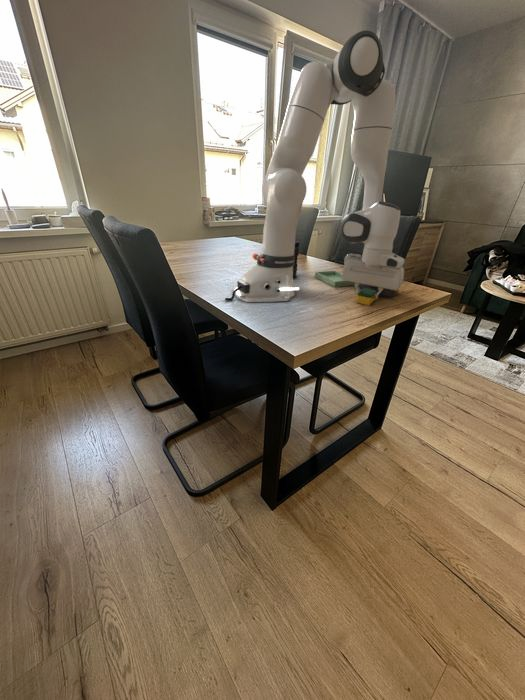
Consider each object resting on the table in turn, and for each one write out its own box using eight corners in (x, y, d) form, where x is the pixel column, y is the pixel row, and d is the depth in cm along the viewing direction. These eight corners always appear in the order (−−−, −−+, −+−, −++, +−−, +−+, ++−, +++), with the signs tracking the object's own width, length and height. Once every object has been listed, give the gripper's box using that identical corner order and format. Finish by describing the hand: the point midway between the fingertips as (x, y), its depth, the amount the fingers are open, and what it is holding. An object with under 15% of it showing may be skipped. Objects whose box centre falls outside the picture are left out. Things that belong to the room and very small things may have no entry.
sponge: (369, 305, 98) (371, 295, 96) (356, 302, 100) (358, 292, 98) (374, 300, 103) (376, 290, 101) (361, 297, 105) (364, 287, 103)
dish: (334, 287, 115) (335, 281, 113) (314, 276, 127) (315, 271, 125) (355, 284, 118) (356, 279, 117) (334, 275, 130) (335, 270, 129)
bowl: (374, 300, 103) (378, 283, 100) (347, 287, 115) (350, 272, 112) (406, 296, 108) (411, 280, 105) (377, 284, 121) (381, 270, 118)
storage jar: (278, 279, 120) (280, 242, 113) (271, 273, 128) (273, 238, 121) (299, 278, 123) (303, 242, 115) (291, 272, 131) (294, 238, 123)
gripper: (342, 253, 96) (335, 292, 103) (406, 263, 87) (394, 305, 94) (348, 251, 101) (341, 288, 108) (410, 260, 91) (397, 300, 98)
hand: (366, 296), depth 100 cm, fingers closed on sponge, 4 cm apart
